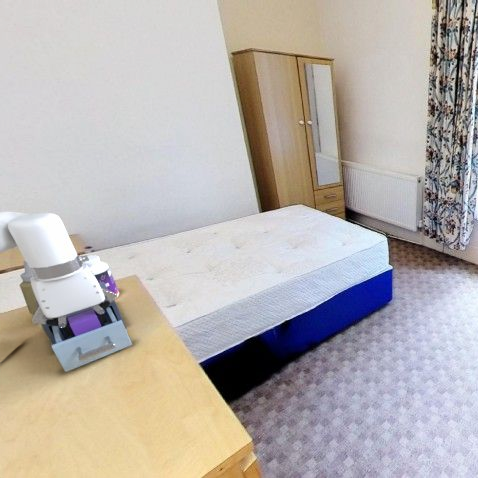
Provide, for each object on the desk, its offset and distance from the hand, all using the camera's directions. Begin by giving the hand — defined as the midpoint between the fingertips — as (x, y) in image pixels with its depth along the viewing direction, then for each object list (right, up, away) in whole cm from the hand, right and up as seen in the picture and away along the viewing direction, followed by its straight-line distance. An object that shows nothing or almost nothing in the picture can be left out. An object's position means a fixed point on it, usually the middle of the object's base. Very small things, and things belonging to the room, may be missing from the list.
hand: (88, 330), depth 80 cm
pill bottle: (-18, +4, +22) cm, 28 cm away
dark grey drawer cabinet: (-10, -2, +9) cm, 13 cm away
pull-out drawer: (+1, -5, +1) cm, 5 cm away
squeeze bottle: (-25, 0, +14) cm, 28 cm away
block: (0, 0, 0) cm, 0 cm away
